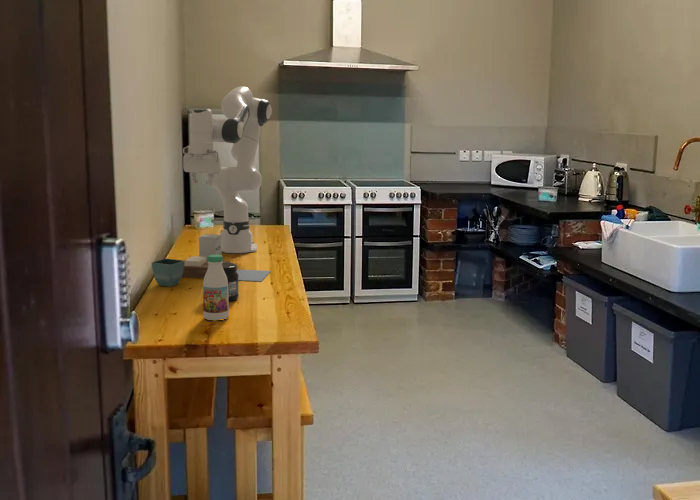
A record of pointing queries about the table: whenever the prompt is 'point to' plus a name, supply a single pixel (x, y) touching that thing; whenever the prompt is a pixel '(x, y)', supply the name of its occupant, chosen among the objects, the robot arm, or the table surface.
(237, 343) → the table surface
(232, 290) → the supplement container
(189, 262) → the beige rectangular block
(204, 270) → the board
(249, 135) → the robot arm
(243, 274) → the mat
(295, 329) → the table surface
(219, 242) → the supplement box
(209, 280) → the milk bottle
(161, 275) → the flower pot
